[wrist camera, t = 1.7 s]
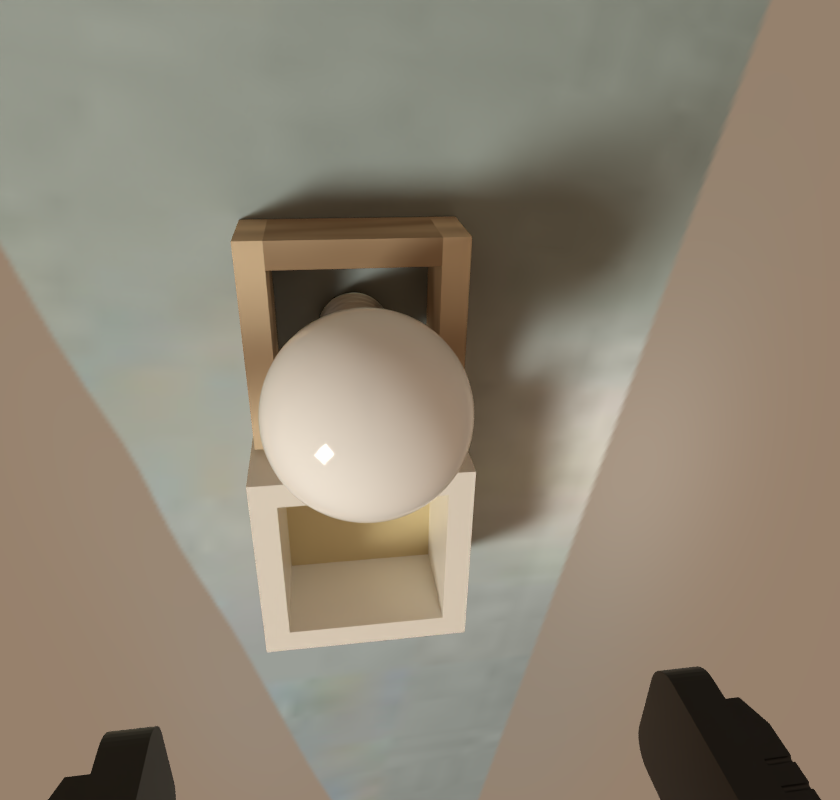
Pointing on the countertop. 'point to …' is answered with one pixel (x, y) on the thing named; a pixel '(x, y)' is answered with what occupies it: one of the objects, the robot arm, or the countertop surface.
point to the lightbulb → (366, 413)
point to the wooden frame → (345, 249)
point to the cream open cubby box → (358, 566)
